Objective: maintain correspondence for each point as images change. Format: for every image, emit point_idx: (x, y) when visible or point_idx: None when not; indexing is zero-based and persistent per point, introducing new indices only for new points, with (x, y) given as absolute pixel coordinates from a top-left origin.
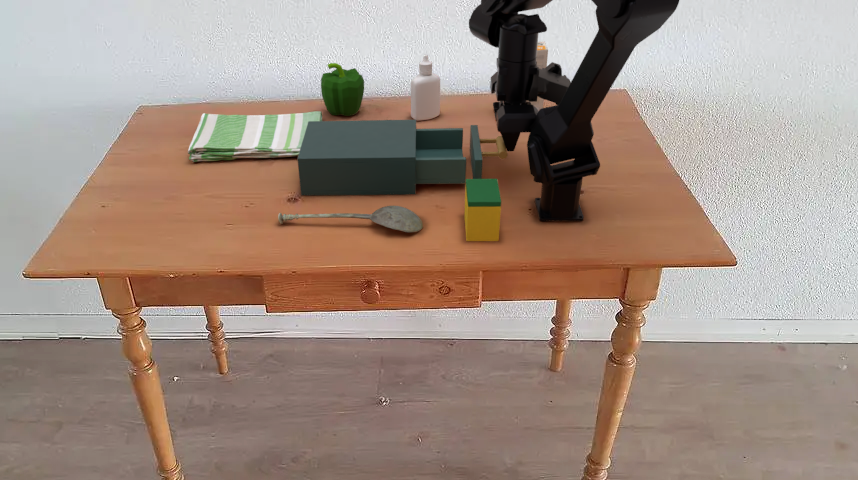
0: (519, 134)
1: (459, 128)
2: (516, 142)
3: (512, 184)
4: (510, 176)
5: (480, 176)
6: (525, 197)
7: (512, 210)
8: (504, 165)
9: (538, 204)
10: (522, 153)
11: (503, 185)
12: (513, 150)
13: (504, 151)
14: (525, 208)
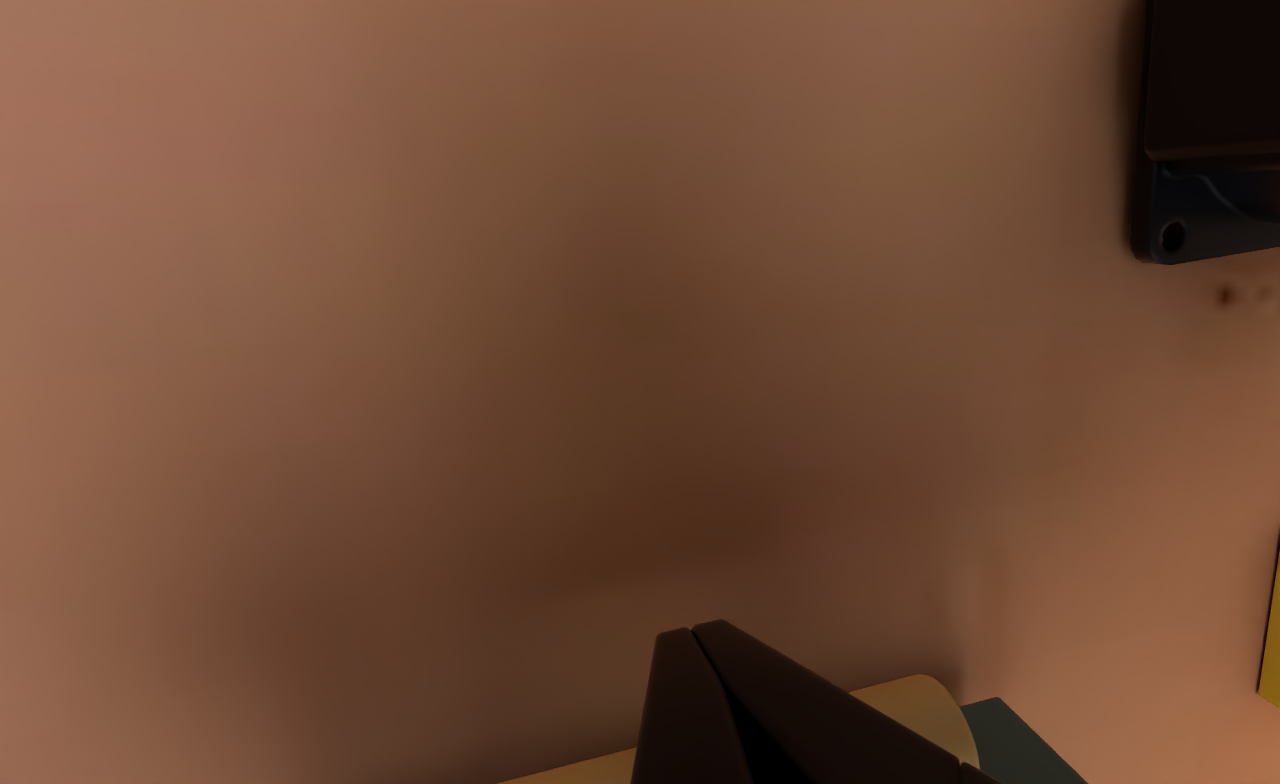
0: (987, 778)
1: None
2: (832, 686)
3: (842, 460)
4: (698, 493)
5: (1075, 777)
6: (1053, 339)
7: (1220, 420)
8: (477, 572)
9: (1251, 233)
10: (125, 431)
11: (861, 528)
12: (728, 627)
13: (977, 758)
14: (1206, 329)
